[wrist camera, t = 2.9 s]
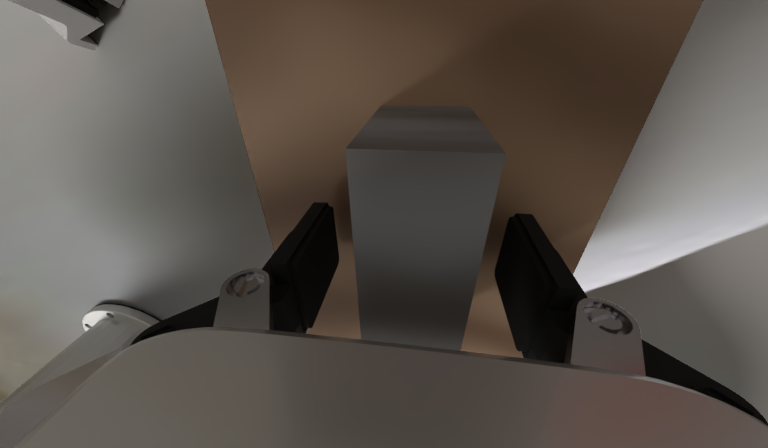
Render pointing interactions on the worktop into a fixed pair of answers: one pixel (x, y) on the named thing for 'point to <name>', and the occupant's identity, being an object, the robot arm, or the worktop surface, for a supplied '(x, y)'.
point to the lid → (440, 139)
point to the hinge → (70, 17)
